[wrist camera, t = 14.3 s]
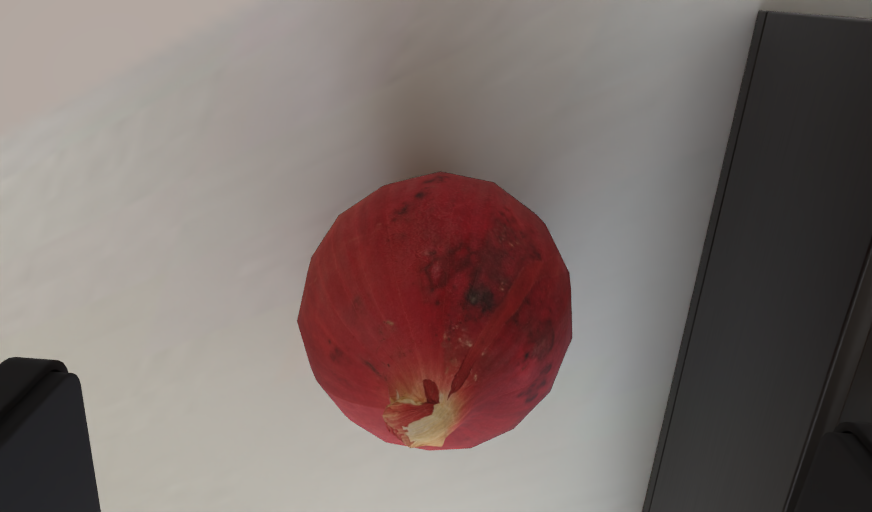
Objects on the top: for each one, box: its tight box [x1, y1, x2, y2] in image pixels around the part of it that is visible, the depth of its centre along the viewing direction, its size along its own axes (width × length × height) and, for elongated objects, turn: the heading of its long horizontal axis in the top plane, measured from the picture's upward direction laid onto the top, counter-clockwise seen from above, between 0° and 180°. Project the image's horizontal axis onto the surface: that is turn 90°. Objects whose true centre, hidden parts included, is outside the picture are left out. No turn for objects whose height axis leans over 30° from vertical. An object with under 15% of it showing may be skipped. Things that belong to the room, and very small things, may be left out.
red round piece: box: [297, 172, 572, 450], centre depth 15 cm, size 6×6×8 cm
